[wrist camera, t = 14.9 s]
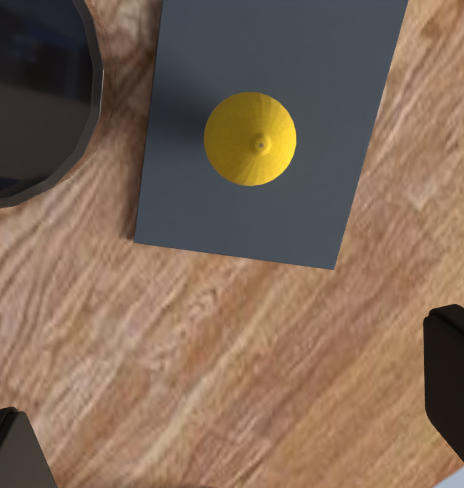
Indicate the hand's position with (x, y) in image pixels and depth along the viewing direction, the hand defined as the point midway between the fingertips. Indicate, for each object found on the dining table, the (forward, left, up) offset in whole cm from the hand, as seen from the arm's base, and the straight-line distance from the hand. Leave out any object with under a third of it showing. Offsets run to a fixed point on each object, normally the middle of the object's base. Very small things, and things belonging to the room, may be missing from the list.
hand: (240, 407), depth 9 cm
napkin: (+4, +6, -22) cm, 23 cm away
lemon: (+2, +5, -22) cm, 23 cm away
